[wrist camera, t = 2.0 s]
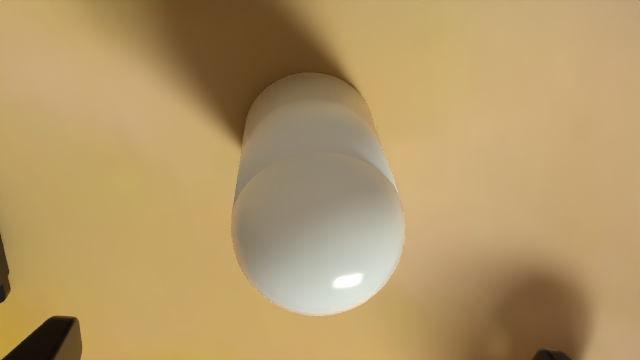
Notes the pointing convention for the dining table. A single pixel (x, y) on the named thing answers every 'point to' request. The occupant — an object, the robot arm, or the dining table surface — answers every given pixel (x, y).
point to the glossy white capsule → (315, 198)
